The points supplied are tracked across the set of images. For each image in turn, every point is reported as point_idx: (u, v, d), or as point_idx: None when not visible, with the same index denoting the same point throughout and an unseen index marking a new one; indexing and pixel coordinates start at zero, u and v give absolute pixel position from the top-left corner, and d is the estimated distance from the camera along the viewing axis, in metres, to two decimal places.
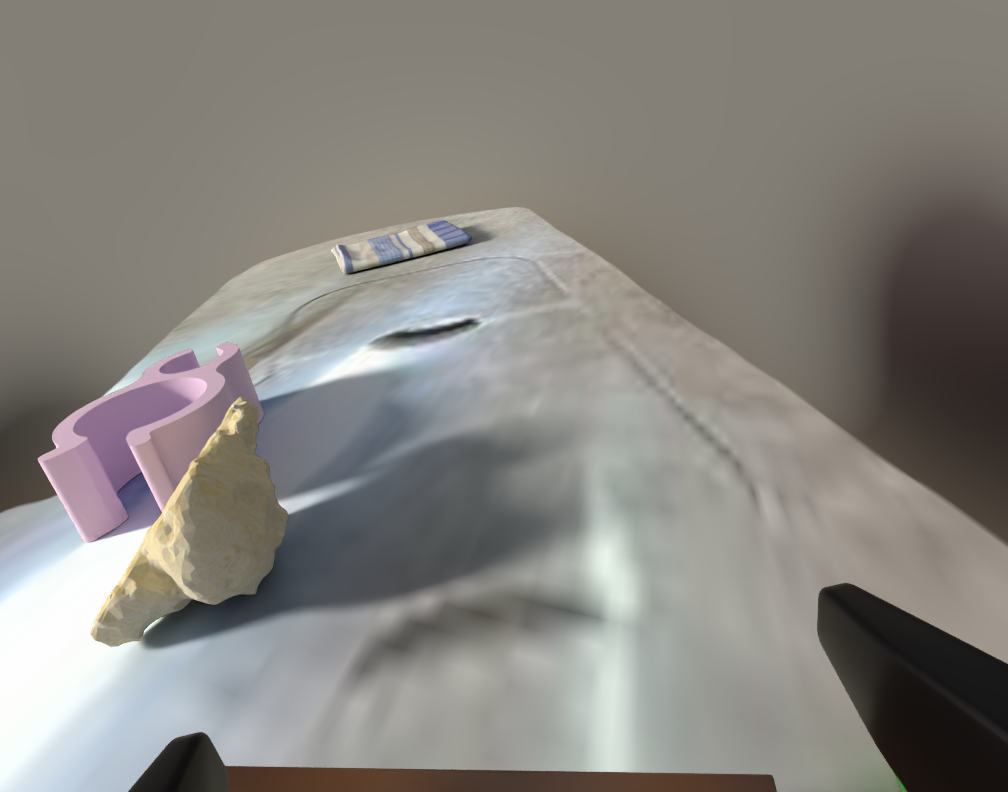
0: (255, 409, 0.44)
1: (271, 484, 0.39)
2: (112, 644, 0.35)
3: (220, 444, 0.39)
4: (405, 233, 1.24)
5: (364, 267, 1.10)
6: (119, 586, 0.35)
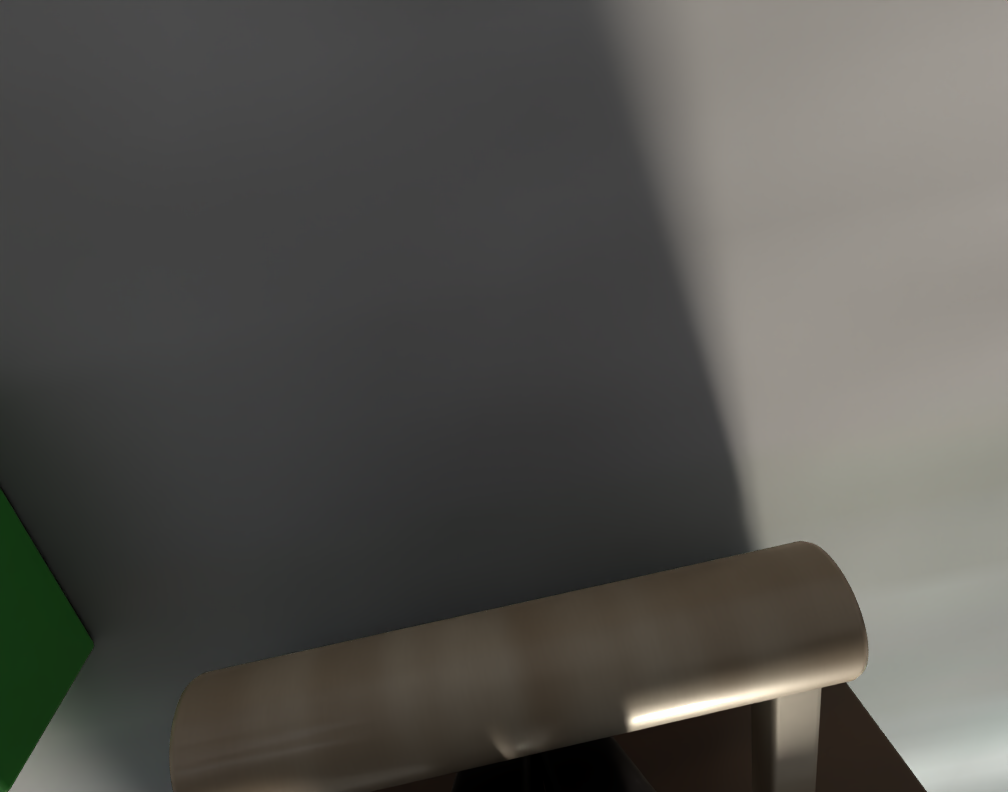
0: None
1: None
2: None
3: None
4: None
5: None
6: None
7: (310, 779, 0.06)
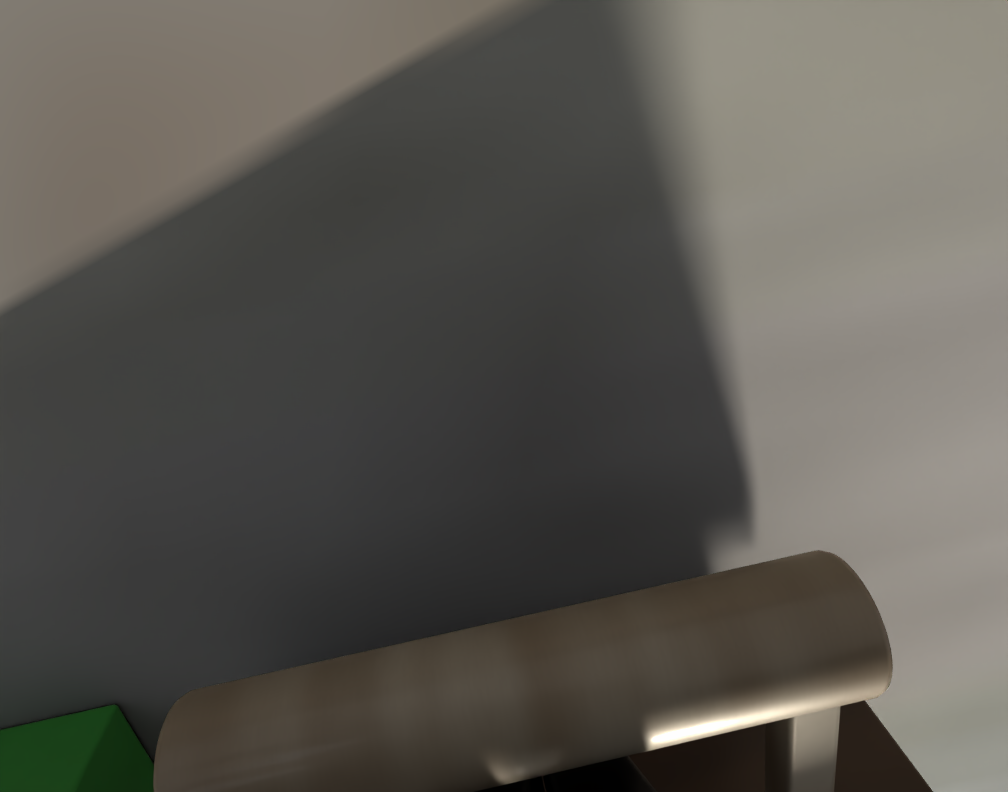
0: None
1: None
2: None
3: None
4: None
5: None
6: None
7: None
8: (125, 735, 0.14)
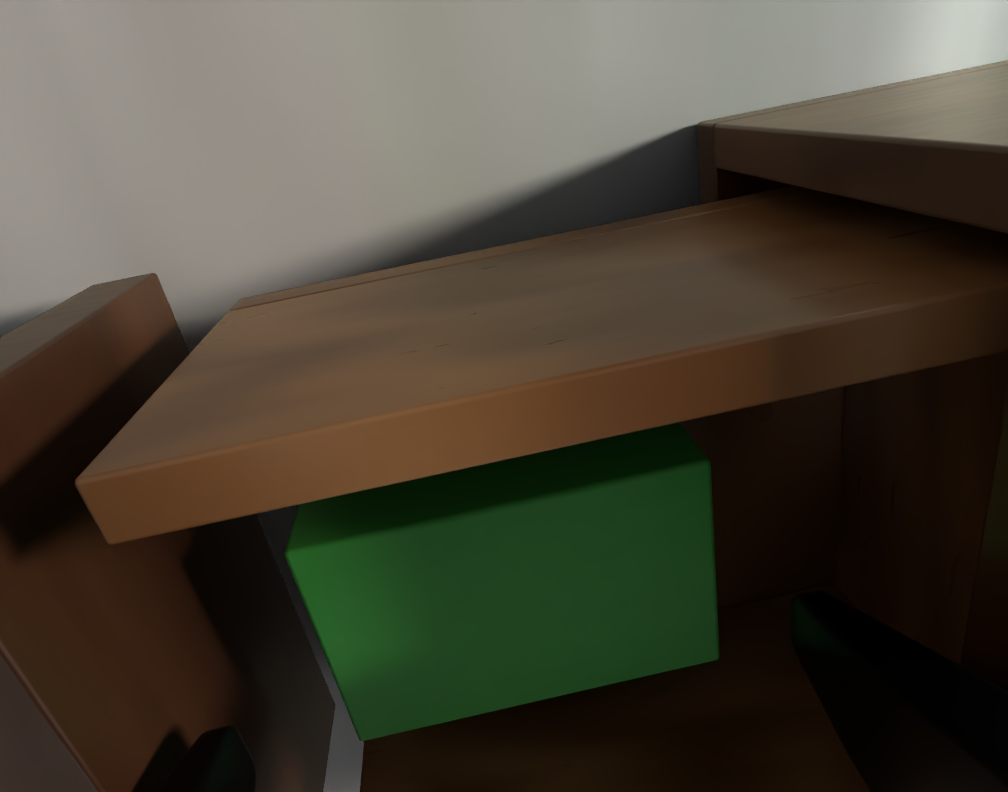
0: None
1: None
2: None
3: None
4: None
5: None
6: None
7: None
8: None
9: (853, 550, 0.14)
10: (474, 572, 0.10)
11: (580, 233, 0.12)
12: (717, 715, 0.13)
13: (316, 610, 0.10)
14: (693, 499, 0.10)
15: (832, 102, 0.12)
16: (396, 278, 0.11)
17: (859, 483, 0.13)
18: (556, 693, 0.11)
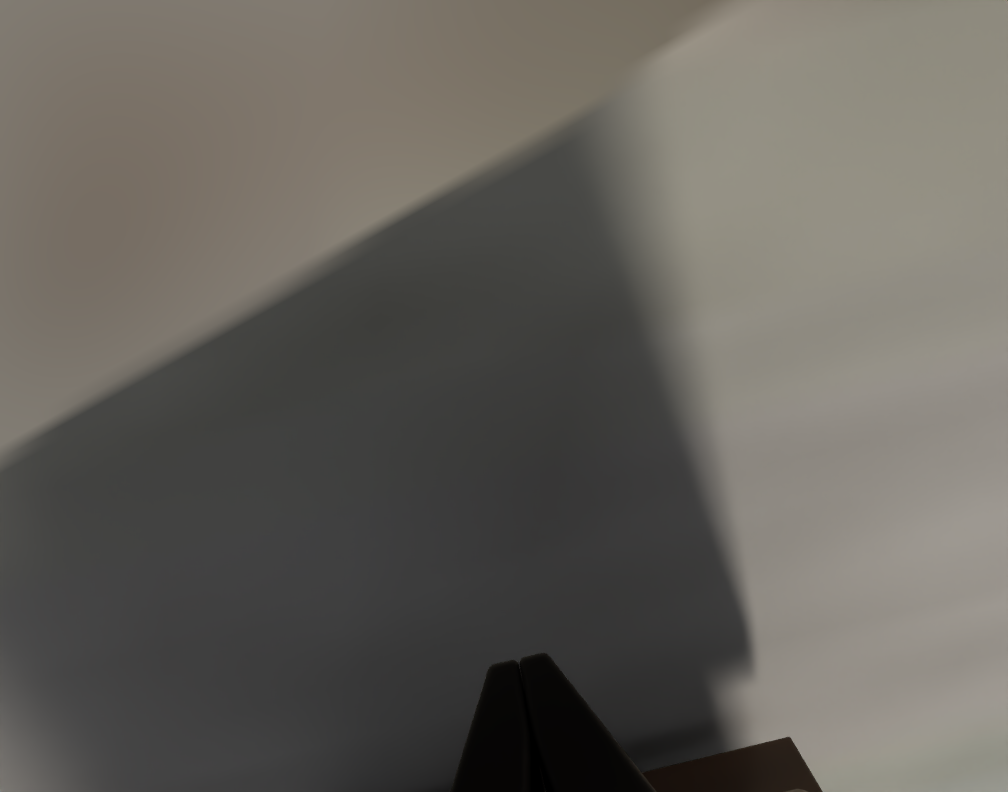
0: None
1: None
2: None
3: None
4: None
5: None
6: None
7: None
8: None
9: None
10: None
11: None
12: None
13: None
14: None
15: None
16: None
17: None
18: None
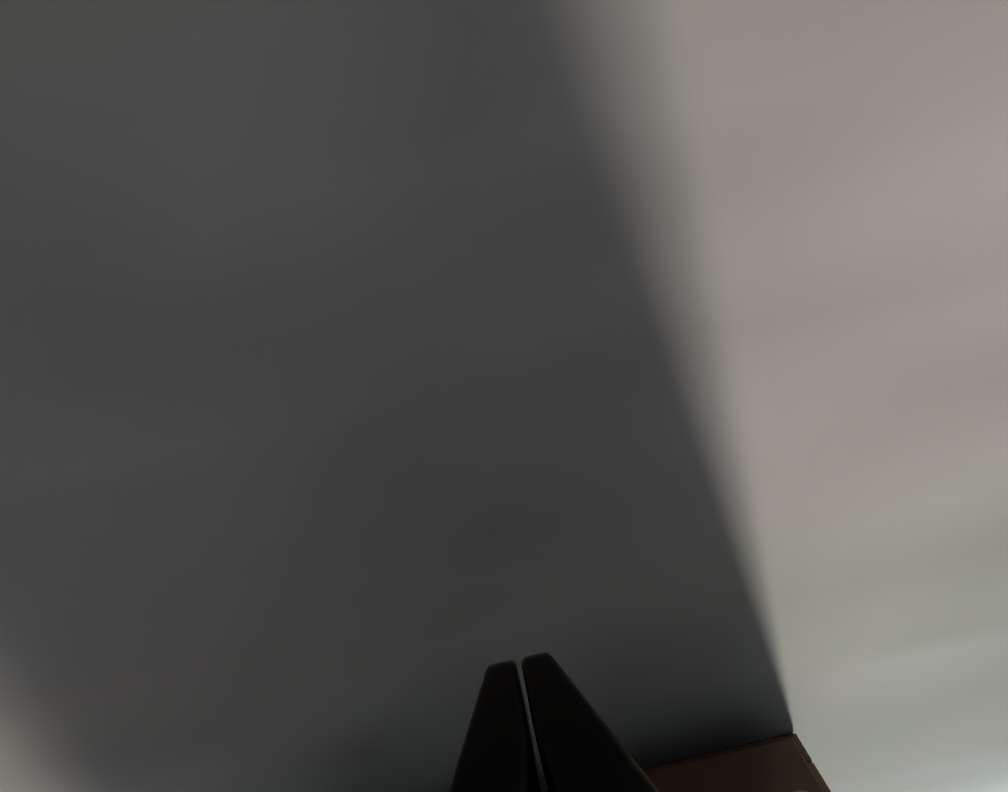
0: None
1: None
2: None
3: None
4: None
5: None
6: None
7: None
8: None
9: None
10: None
11: None
12: None
13: None
14: None
15: None
16: None
17: None
18: None
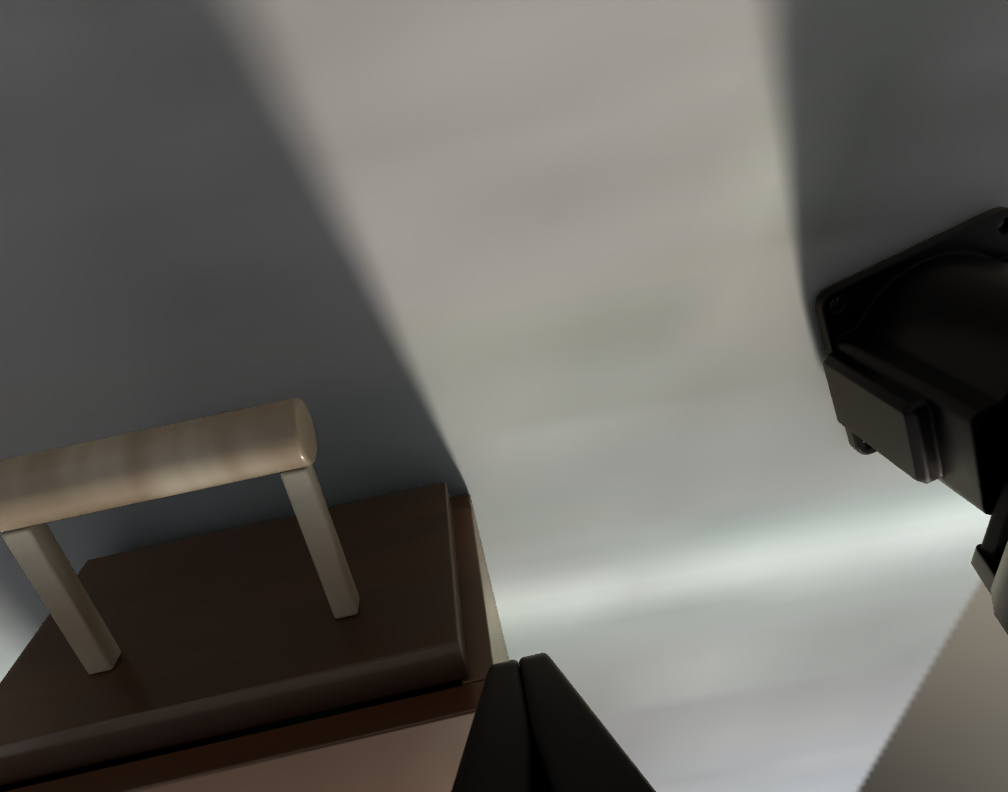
0: None
1: None
2: None
3: None
4: None
5: None
6: None
7: (21, 502, 0.13)
8: None
9: None
10: None
11: None
12: None
13: None
14: None
15: (484, 562, 0.22)
16: None
17: None
18: None
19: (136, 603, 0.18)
